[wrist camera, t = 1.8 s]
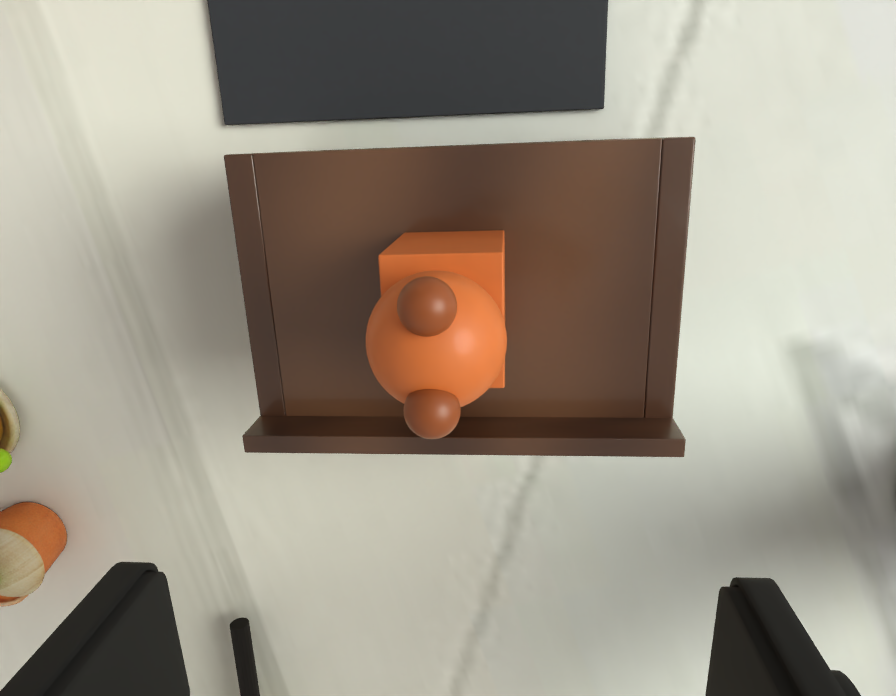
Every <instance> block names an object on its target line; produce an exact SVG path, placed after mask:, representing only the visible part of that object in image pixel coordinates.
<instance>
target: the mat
mask: <svg viewBox="0 0 896 696" xmlns="http://www.w3.org/2000/svg"><path fill="white" fill-rule="evenodd" d="M208 7H209V14H210V22H211V29H212V36H213V43H214V50H215V58H216V65H217V72H218V79H219V86H220V93H221V101H222V108H223V115H224V122H225V125H239V124H262V123H285V122H308V121H332V120H355V119H378V118H401V117H425V116H448V115H471V114H494V113H517V112H541V111H564V110H587V109H603V108H604V91H605V65H606V38H607V12H608V0H208Z"/></svg>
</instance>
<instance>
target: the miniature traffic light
mask: <svg viewBox="0 0 896 696" xmlns="http://www.w3.org/2000/svg"><path fill="white" fill-rule="evenodd" d="M230 631H231V638H232V644H233V650H234V657H235V663H236V669H237V676H238V682H239V688H240V695H241V696H260V693H259V686H258V679H257V673H256V666H255V659H254V652H253V646H252V639H251V632H250V626H249V620H248V619H247V618H238V619H235V620H234V621H232V622H231V624H230Z"/></svg>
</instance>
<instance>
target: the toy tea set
mask: <svg viewBox="0 0 896 696" xmlns="http://www.w3.org/2000/svg"><path fill="white" fill-rule="evenodd" d="M19 434H20V424H19V419H18V415H17V413H16V410H15V408H14V406H13V404H12V403H11V401H10V400H9V398H8V397H7V396H6V394H5V393H4V392H3V391H2V390H1V389H0V473H1V472H3V471H5V470H6V469H8V467H9V466H10V464H11V463H12V457H11V455H10V453H11V452H12V451H13V450H14V448H15V446H16V444H17V442H18V439H19ZM66 541H67V533H66V529H65V526H64V524H63V522H62V521H61V519H60V518H59V517H58V516H57V514H55V513H54V512H53V511H52V510H50V509H49V508H47V507H45V506H43V505H40V504H37V503H32V502H22V503H18V504H15V505H13V506H11V507H9V508H7V509H5V510H3V511H1V512H0V606H10V605H14V604H17V603H19V602H21V601H22V600H23V599H25V598H26V597H27V596H28V595H29V594H31V593H33V592H34V591H35V590H36V589H37V588H38V587H39V586H40V585H41V583H42V581H43V579H44V574H45V573H46V572H47V570H48V569H49V568H50V567H51V565H52V564H53V563H54V561H55V560H56V559H57V557H58V556H59V555H60V553H61V552H62V551H63V549H64V547H65V545H66Z"/></svg>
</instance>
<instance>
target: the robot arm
mask: <svg viewBox="0 0 896 696" xmlns="http://www.w3.org/2000/svg"><path fill="white" fill-rule="evenodd" d="M0 696H190V689H189V684H188V679H187V674H186V669H185V665H184V660H183V655H182V650H181V645H180V640H179V636H178V631H177V626H176V621H175V616H174V612H173V607H172V602H171V597H170V592H169V588H168V583H167V578H166V576H165V574H164V573H163V572H158V569H157V567H156V566H155V564H153V563H141V562H120V563H116V564H115V565H114V566H113V567H112V568H111V569H110V570H109V571H108V572H107V573H106V574H105V576H104V577H103V578H102V579H101V580H100V581H99V582H98V583H97V584H96V586H95V587H94V588H93V589H92V590H91V591H90V592H89V593H88V594H87V596H86V597H85V598H84V599H83V600H82V601H81V602H80V603H79V604H78V606H77V607H76V608H75V609H74V610H73V611H72V612H71V613H70V614H69V616H68V617H67V618H66V619H65V620H64V621H63V622H62V623H61V624H60V625H59V627H58V628H57V629H56V630H55V631H54V632H53V633H52V634H51V635H50V637H49V638H48V639H47V640H46V641H45V642H44V643H43V644H42V645H41V647H40V648H39V649H38V650H37V651H36V652H35V653H34V654H33V655H32V657H31V658H30V659H29V660H28V661H27V662H26V663H25V664H24V665H23V667H22V668H21V669H20V670H19V671H18V672H17V673H16V674H15V675H14V677H13V678H12V679H11V680H10V681H9V682H8V683H7V684H6V685H5V687H4V688H3V689H2V690H1V691H0ZM706 696H861V695H860V693H859V692H858V690H857V689H856V687H855V686H854V684H853V683H852V682H851V681H850V679H849V678H848V677H847V676H846V675H845V674H843V673H842V672H840V671H836V670H830V669H829V667H828V665H827V664H826V662H825V660H824V659H823V657H822V656H821V654H820V652H819V651H818V649H817V648H816V646H815V644H814V643H813V641H812V640H811V638H810V636H809V635H808V633H807V632H806V630H805V628H804V627H803V625H802V624H801V622H800V620H799V619H798V617H797V616H796V614H795V612H794V611H793V609H792V608H791V606H790V604H789V603H788V601H787V600H786V598H785V596H784V595H783V593H782V592H781V590H780V588H779V587H778V585H777V584H776V583H775V581H774V580H772V579H770V578H737V577H736V578H733V579H732V581H731V583H730V587H721V589H720V591H719V596H718V604H717V612H716V619H715V627H714V635H713V642H712V650H711V658H710V665H709V673H708V681H707V688H706Z"/></svg>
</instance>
